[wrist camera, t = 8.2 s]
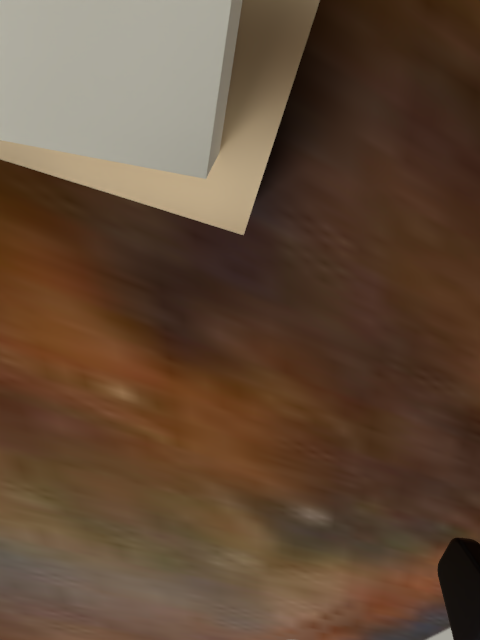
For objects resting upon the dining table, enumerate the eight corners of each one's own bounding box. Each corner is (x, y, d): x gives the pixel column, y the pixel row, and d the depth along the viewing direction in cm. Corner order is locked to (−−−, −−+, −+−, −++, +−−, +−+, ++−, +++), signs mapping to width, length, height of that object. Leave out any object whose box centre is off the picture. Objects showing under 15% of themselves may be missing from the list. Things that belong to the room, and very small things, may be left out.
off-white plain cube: (219, 152, 13) (205, 179, 8) (40, 117, 13) (-105, 120, 7) (253, -71, 11) (267, -249, 6) (36, -122, 11) (-176, -369, 5)
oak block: (241, 211, 18) (243, 235, 14) (21, 140, 17) (-38, 147, 13) (324, -50, 14) (353, -104, 11) (49, -165, 13) (-20, -271, 10)
